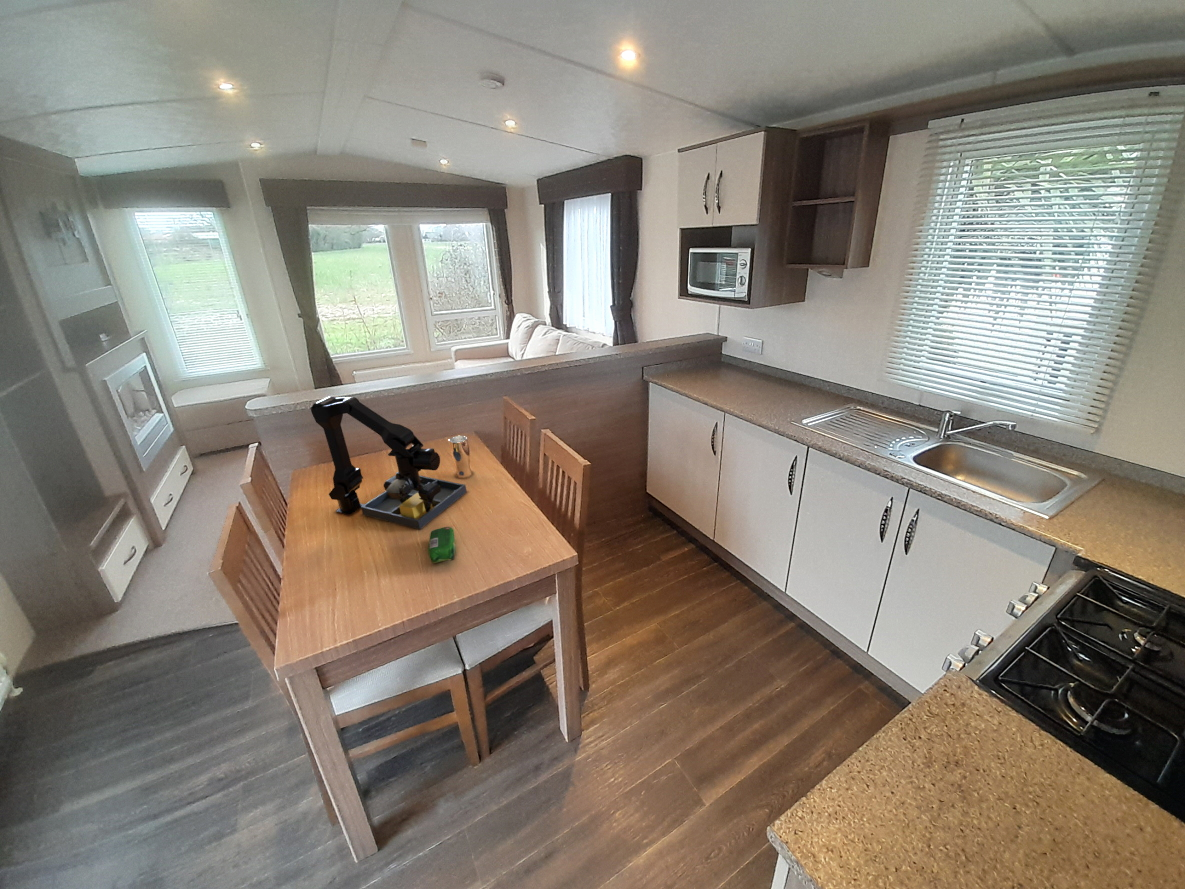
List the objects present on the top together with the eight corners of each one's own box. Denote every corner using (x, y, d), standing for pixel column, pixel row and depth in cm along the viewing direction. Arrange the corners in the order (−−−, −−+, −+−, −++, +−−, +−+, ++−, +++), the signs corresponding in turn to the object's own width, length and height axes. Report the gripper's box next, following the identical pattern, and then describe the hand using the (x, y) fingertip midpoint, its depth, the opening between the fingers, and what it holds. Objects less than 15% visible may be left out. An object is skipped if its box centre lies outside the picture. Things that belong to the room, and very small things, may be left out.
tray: (362, 514, 159) (360, 506, 158) (413, 481, 180) (411, 473, 178) (420, 529, 151) (418, 521, 149) (466, 492, 171) (465, 484, 170)
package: (401, 518, 155) (398, 505, 153) (419, 505, 162) (417, 492, 160) (415, 521, 153) (412, 508, 151) (432, 508, 160) (430, 495, 158)
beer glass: (477, 472, 184) (471, 437, 178) (463, 480, 179) (457, 444, 172) (464, 468, 187) (458, 433, 181) (450, 476, 182) (444, 440, 176)
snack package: (430, 571, 132) (426, 556, 130) (432, 539, 146) (429, 524, 143) (456, 567, 133) (453, 552, 131) (455, 535, 147) (453, 521, 145)
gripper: (365, 474, 147) (376, 516, 154) (412, 484, 140) (422, 528, 147) (392, 458, 156) (401, 499, 163) (437, 467, 150) (445, 509, 156)
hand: (416, 509), depth 157 cm, fingers open, 9 cm apart
